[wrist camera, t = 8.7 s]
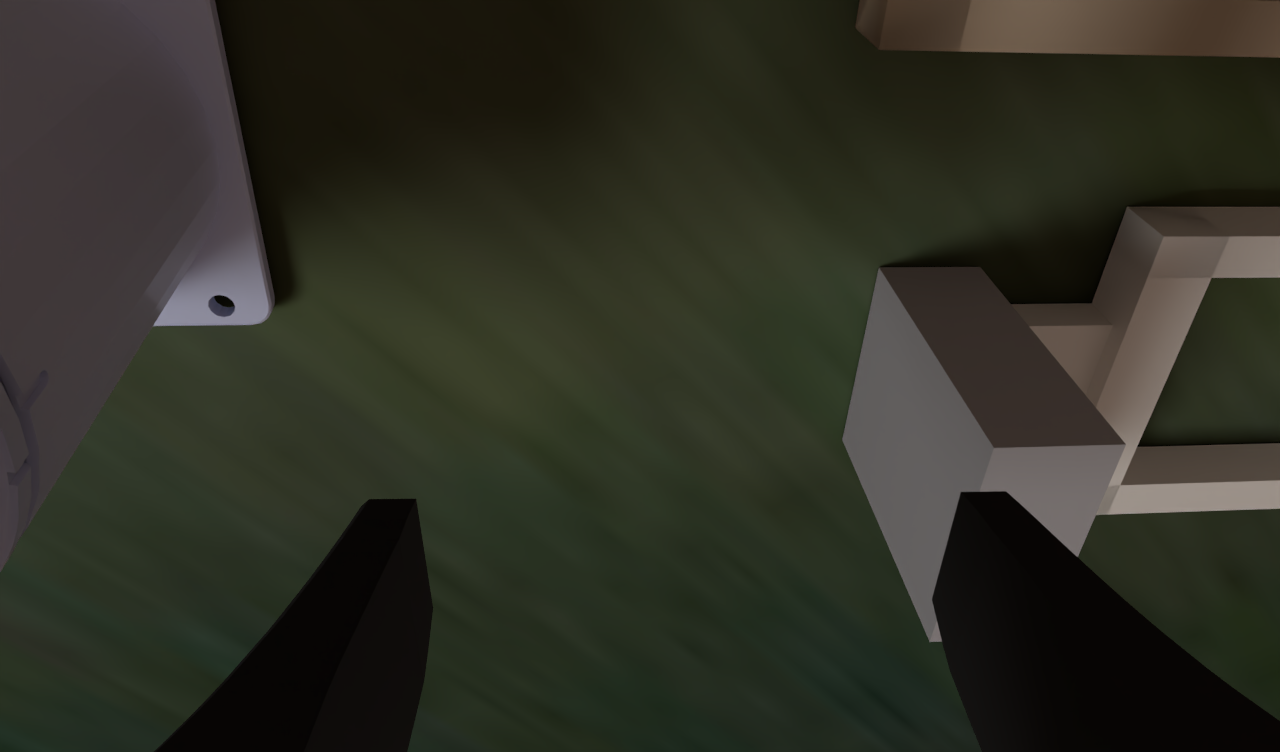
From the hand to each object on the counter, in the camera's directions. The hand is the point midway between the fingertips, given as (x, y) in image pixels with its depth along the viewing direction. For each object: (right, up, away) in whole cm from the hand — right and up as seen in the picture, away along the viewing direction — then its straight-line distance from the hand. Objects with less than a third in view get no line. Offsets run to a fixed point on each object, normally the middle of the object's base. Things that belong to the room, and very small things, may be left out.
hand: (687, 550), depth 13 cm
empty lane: (+13, +3, +11) cm, 17 cm away
